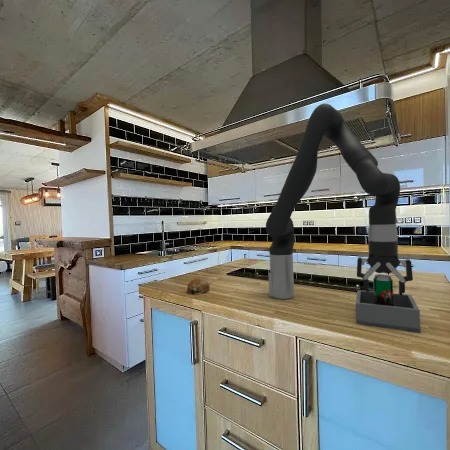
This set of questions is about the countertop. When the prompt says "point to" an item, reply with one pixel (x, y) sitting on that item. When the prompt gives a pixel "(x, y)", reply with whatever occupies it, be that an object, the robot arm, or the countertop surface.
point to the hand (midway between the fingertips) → (383, 292)
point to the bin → (388, 312)
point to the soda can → (383, 290)
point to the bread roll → (198, 286)
